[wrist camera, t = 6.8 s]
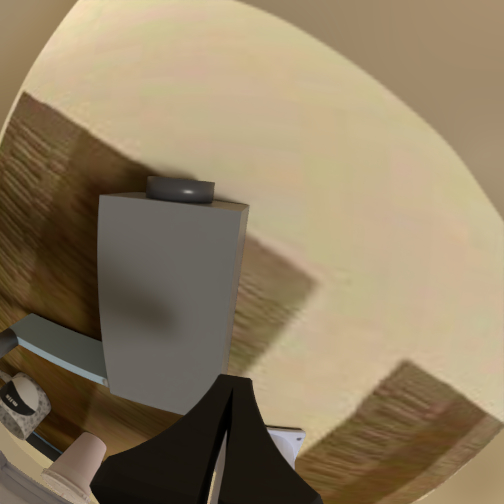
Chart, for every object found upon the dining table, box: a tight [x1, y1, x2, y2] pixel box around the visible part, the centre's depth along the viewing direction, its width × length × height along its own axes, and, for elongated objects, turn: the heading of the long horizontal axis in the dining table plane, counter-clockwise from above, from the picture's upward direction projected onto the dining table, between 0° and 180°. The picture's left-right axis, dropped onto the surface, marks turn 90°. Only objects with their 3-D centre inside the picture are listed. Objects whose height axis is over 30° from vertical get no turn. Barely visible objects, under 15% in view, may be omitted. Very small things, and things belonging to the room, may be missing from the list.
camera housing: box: [97, 176, 249, 415], centre depth 18 cm, size 15×8×5 cm, turn 172°
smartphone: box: [26, 431, 63, 462], centre depth 29 cm, size 7×1×15 cm
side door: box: [0, 313, 109, 387], centre depth 18 cm, size 12×2×8 cm, turn 80°
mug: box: [0, 370, 51, 440], centre depth 22 cm, size 10×7×7 cm, turn 64°
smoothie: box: [41, 432, 106, 504], centre depth 19 cm, size 6×6×14 cm
